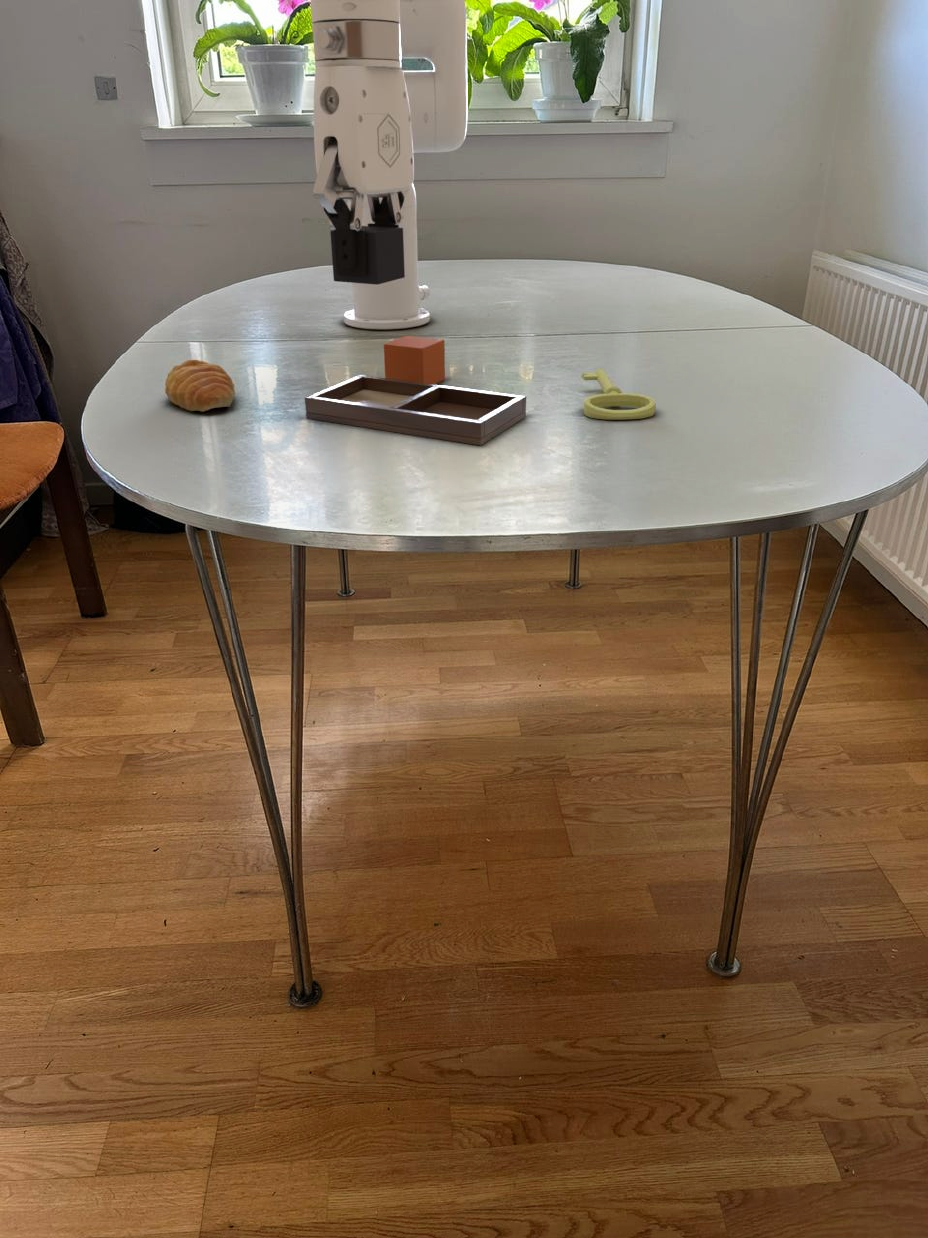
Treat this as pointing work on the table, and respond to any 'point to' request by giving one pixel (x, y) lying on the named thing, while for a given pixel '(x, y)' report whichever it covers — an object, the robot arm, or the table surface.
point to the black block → (378, 256)
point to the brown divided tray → (417, 408)
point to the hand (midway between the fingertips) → (369, 269)
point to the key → (615, 401)
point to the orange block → (415, 359)
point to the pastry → (199, 386)
